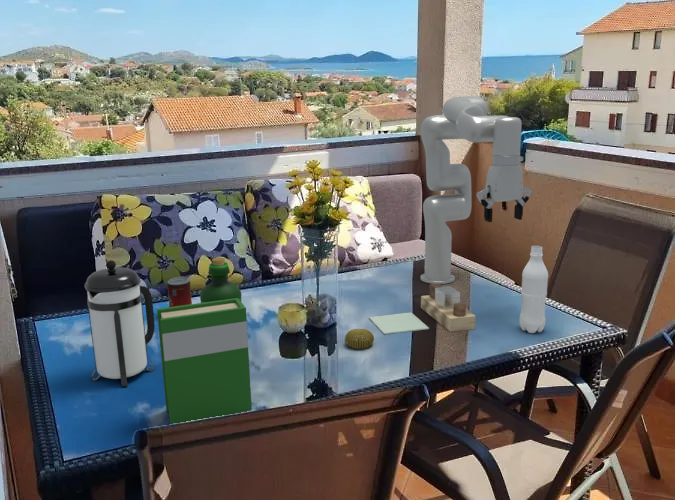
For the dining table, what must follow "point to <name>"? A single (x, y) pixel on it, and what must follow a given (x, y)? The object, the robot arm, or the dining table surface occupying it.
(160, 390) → the dining table surface
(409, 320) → the mat
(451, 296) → the grey block
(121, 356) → the coffee press
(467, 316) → the hand plane
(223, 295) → the bottle
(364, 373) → the dining table surface
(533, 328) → the water bottle
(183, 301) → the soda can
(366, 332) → the sculpture
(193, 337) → the hardback book
